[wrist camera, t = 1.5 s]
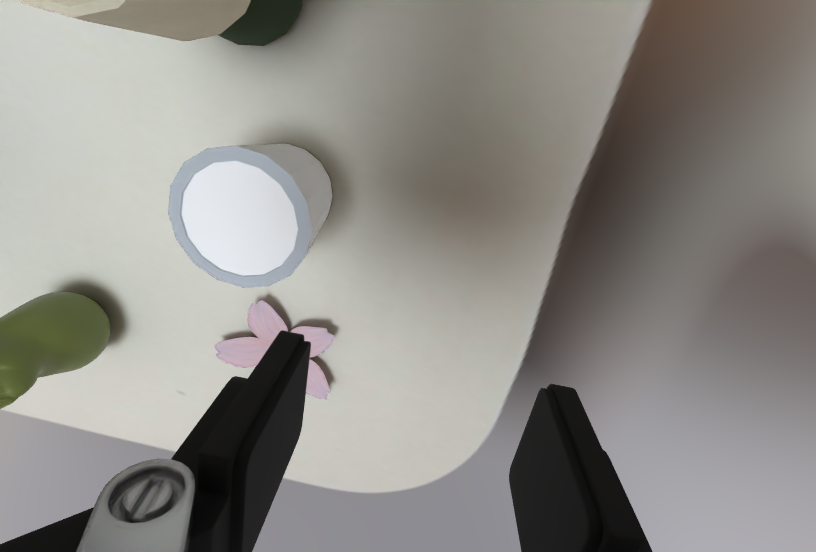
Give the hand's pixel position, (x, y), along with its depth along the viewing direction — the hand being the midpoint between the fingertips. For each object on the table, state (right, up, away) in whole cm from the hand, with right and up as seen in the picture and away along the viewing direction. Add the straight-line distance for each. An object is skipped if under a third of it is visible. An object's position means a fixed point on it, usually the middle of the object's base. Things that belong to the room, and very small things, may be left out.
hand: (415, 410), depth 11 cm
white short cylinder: (-8, +9, +16) cm, 20 cm away
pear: (-23, +1, +21) cm, 31 cm away
